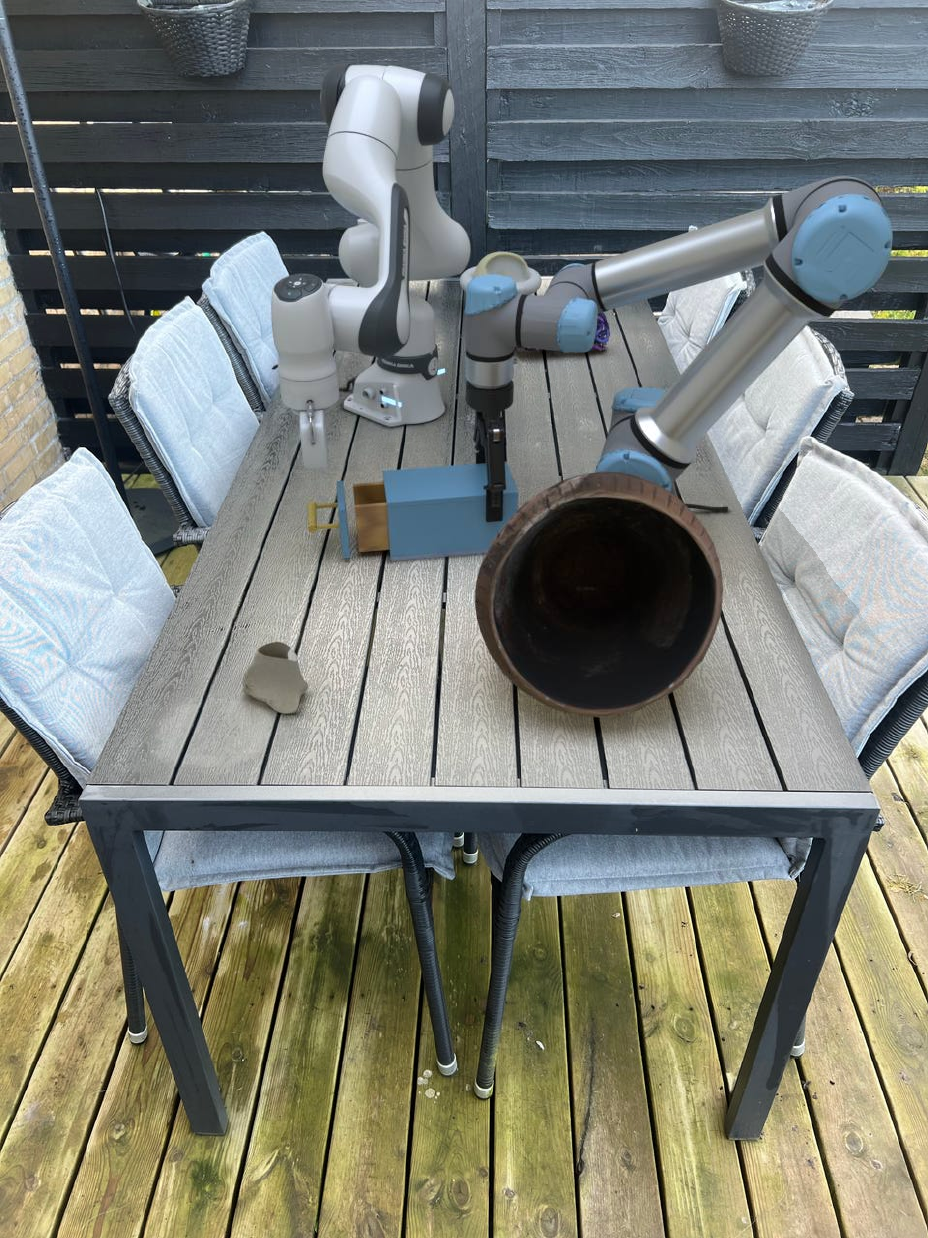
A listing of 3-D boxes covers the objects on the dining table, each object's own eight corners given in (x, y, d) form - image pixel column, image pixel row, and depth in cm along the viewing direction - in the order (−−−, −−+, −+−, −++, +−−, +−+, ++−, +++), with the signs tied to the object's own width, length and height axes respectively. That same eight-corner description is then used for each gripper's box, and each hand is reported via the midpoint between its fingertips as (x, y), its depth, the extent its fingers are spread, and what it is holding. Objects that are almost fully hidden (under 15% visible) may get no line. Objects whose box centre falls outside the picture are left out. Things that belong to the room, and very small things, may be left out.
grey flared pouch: (308, 702, 131) (315, 635, 129) (297, 722, 124) (304, 652, 121) (246, 693, 131) (251, 626, 129) (231, 713, 124) (236, 642, 121)
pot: (520, 423, 138) (555, 432, 109) (702, 511, 144) (783, 542, 115) (430, 616, 144) (441, 674, 115) (608, 693, 150) (662, 767, 121)
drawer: (311, 561, 155) (305, 512, 149) (311, 530, 162) (305, 483, 156) (462, 548, 157) (462, 500, 151) (455, 519, 165) (454, 472, 159)
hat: (455, 295, 261) (454, 240, 252) (532, 292, 263) (534, 237, 254) (465, 327, 242) (464, 268, 233) (548, 323, 244) (550, 264, 235)
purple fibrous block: (616, 330, 219) (490, 333, 216) (609, 367, 227) (487, 369, 225) (606, 296, 227) (484, 298, 224) (599, 332, 235) (482, 335, 233)
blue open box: (390, 561, 156) (386, 502, 149) (386, 527, 164) (382, 470, 158) (516, 550, 158) (518, 492, 151) (505, 518, 167) (507, 461, 160)
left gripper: (332, 416, 134) (340, 500, 142) (329, 361, 150) (337, 440, 158) (287, 419, 133) (299, 503, 141) (289, 364, 149) (299, 442, 157)
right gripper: (527, 410, 136) (523, 537, 149) (501, 350, 154) (499, 468, 168) (476, 413, 135) (476, 541, 148) (456, 353, 153) (457, 471, 167)
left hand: (319, 469), depth 150 cm, fingers closed
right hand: (488, 502), depth 158 cm, fingers open, 11 cm apart
